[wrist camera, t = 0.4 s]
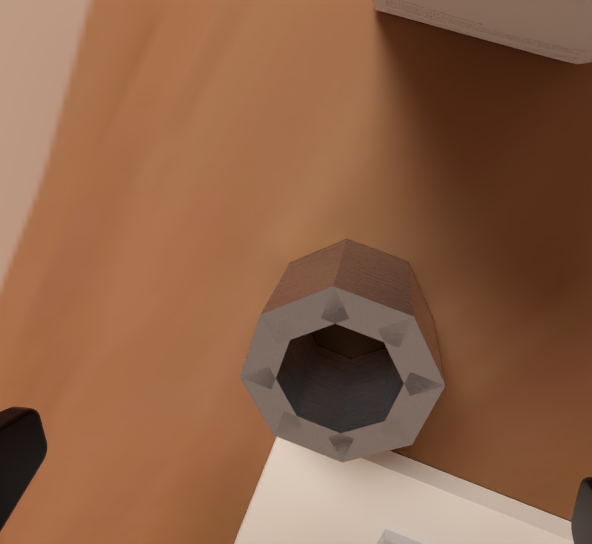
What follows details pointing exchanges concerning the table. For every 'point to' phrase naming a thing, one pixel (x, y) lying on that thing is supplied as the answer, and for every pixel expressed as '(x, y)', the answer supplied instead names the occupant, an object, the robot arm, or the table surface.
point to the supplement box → (509, 23)
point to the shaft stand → (383, 505)
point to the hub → (337, 368)
